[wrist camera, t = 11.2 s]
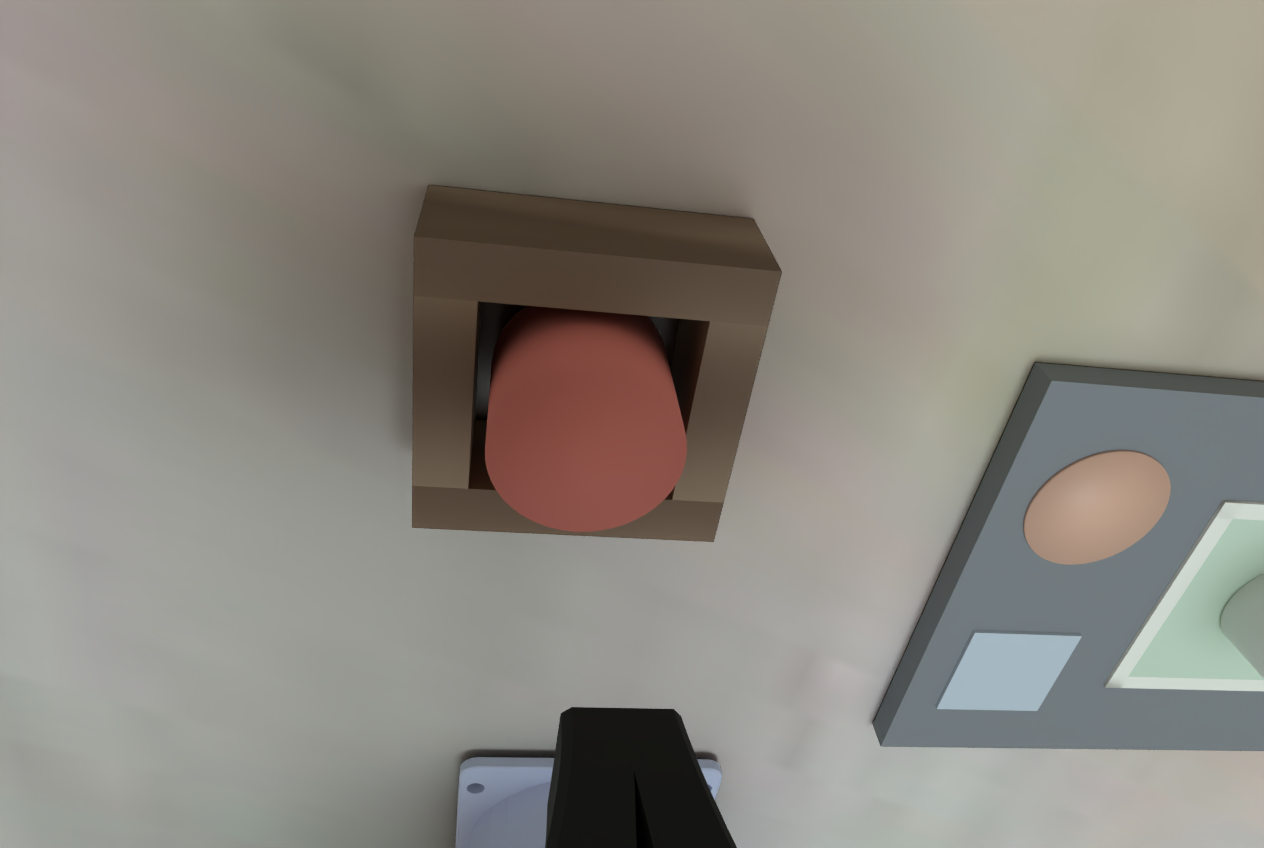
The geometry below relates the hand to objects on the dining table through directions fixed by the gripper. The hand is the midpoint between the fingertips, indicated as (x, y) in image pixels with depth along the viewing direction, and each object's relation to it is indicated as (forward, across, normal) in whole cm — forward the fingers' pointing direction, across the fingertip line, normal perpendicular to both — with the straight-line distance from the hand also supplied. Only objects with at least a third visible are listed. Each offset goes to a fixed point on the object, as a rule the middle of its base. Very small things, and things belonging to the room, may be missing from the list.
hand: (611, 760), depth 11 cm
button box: (+10, 0, 0) cm, 10 cm away
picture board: (+10, -18, +6) cm, 22 cm away
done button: (+10, 0, 0) cm, 10 cm away
